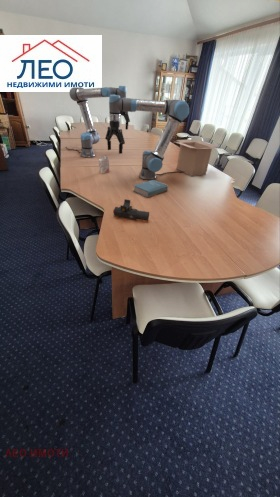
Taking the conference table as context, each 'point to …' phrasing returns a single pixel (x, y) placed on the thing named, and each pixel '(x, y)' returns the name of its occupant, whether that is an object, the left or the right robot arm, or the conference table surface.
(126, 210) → the laser sight
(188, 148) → the box
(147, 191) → the book
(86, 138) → the left robot arm
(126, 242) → the conference table surface
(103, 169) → the ink cartridge box
